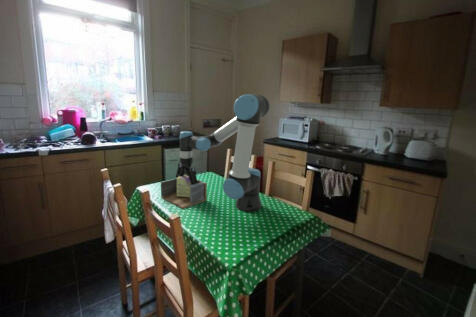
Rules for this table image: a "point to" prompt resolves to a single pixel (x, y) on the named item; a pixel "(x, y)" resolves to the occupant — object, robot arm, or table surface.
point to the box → (183, 186)
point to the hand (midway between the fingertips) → (186, 191)
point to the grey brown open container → (196, 196)
